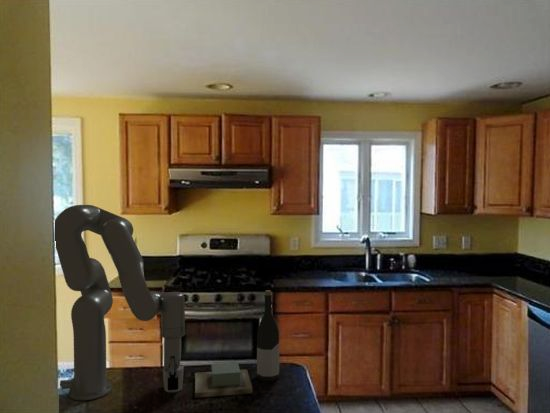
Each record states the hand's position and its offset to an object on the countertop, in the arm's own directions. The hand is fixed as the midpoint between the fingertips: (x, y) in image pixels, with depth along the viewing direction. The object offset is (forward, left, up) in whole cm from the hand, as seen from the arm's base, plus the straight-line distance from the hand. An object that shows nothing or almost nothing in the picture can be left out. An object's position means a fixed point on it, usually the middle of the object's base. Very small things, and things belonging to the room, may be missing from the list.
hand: (173, 383), depth 142 cm
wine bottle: (+32, +4, -2) cm, 32 cm away
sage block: (+17, 0, 0) cm, 17 cm away
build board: (+16, 0, -2) cm, 16 cm away
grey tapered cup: (0, 0, -2) cm, 2 cm away
